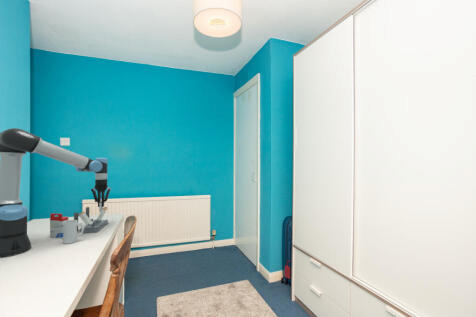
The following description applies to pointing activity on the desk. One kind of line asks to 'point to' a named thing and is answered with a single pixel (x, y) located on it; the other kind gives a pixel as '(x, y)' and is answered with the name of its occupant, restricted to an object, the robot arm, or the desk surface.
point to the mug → (71, 231)
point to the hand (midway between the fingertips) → (100, 211)
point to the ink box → (57, 225)
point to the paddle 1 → (85, 218)
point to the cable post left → (76, 218)
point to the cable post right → (88, 212)
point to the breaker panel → (94, 226)
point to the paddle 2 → (101, 213)
